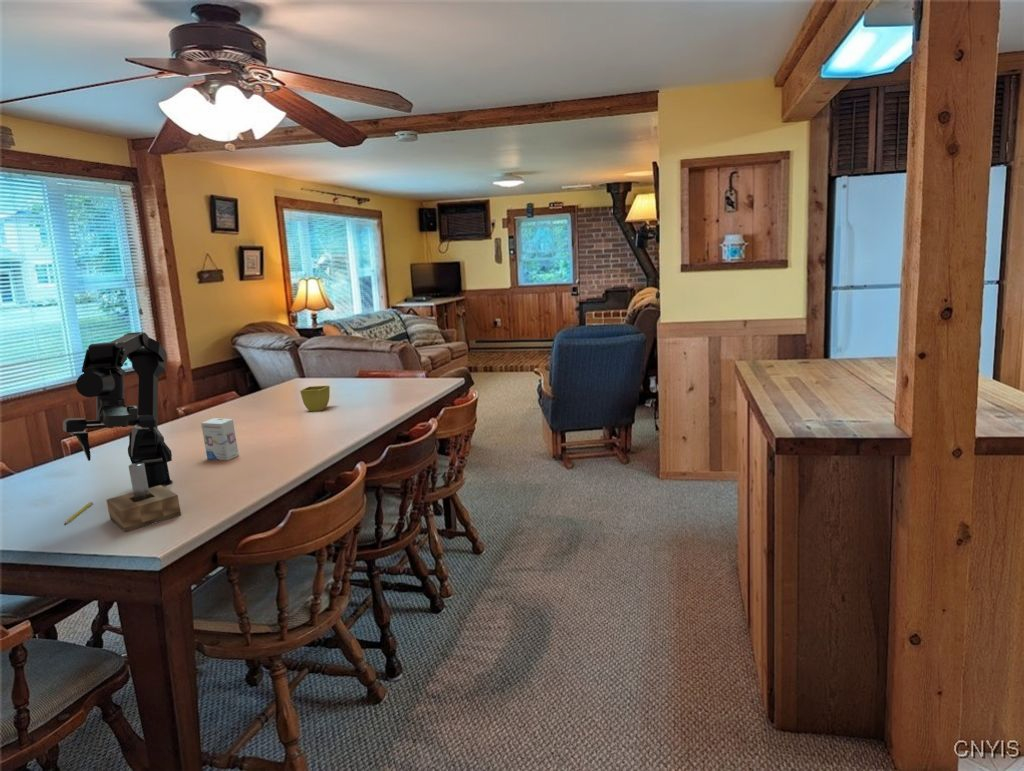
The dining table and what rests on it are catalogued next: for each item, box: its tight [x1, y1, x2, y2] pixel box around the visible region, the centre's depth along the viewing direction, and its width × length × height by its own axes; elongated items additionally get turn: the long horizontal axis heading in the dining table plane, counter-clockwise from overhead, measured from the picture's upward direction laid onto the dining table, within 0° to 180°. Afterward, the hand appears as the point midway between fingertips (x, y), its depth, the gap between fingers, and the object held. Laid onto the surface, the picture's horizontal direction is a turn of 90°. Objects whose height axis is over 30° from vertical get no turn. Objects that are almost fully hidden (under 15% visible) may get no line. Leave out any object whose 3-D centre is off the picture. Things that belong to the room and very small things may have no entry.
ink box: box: [200, 417, 240, 461], centre depth 200 cm, size 9×5×12 cm, turn 70°
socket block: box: [106, 485, 182, 533], centre depth 154 cm, size 12×12×5 cm
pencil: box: [63, 501, 94, 526], centre depth 160 cm, size 1×14×1 cm, turn 9°
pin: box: [128, 463, 150, 502], centre depth 153 cm, size 3×3×12 cm
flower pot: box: [299, 385, 331, 412], centre depth 259 cm, size 9×9×9 cm
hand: (111, 458), depth 159 cm, fingers open, 9 cm apart
